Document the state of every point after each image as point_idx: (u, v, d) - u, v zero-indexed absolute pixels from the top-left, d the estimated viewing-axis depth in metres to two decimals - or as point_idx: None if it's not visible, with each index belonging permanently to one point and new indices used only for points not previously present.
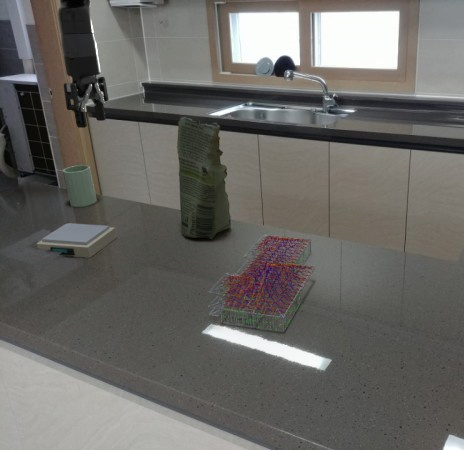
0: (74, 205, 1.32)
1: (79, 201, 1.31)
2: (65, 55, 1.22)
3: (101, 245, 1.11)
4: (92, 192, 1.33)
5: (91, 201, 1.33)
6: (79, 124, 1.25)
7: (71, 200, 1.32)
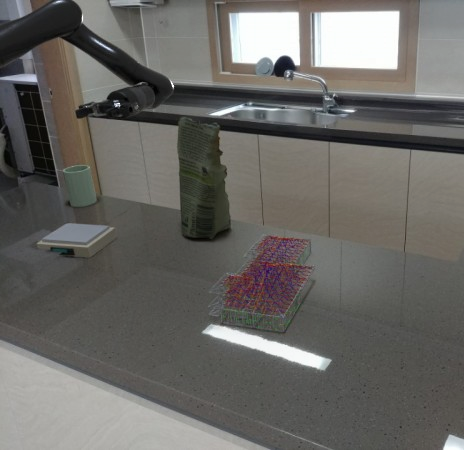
0: (74, 205, 1.32)
1: (79, 201, 1.31)
2: (136, 95, 1.45)
3: (101, 245, 1.11)
4: (92, 192, 1.33)
5: (91, 201, 1.33)
6: (112, 114, 1.31)
7: (71, 200, 1.32)
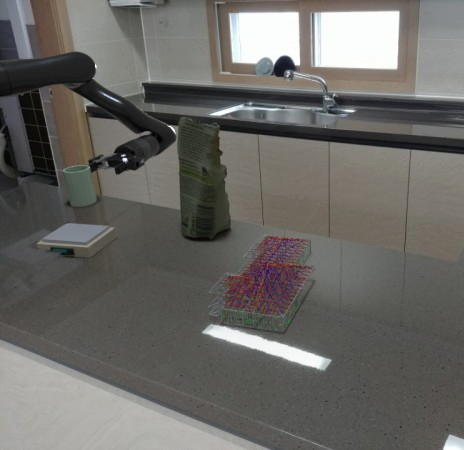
0: (74, 205, 1.32)
1: (79, 201, 1.31)
2: (142, 147, 1.54)
3: (101, 245, 1.11)
4: (92, 192, 1.33)
5: (91, 201, 1.33)
6: (121, 170, 1.41)
7: (71, 200, 1.32)
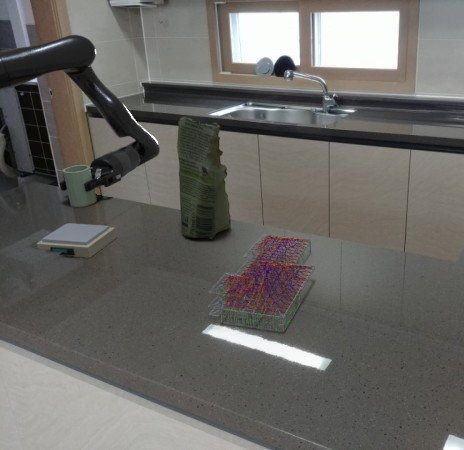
0: (74, 205, 1.32)
1: (79, 201, 1.31)
2: (121, 160, 1.44)
3: (101, 245, 1.11)
4: (92, 192, 1.33)
5: (91, 201, 1.33)
6: (91, 187, 1.30)
7: (71, 200, 1.32)
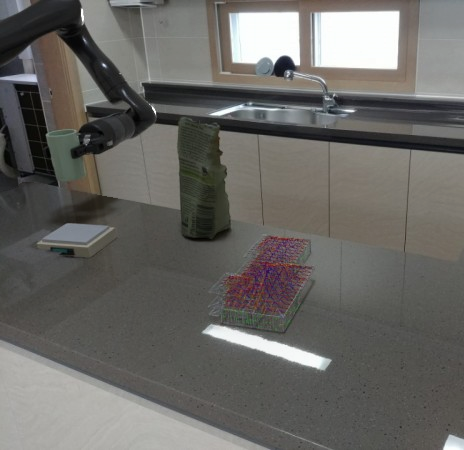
0: (59, 175, 1.15)
1: (65, 170, 1.15)
2: (113, 127, 1.27)
3: (101, 245, 1.11)
4: (80, 160, 1.16)
5: (79, 170, 1.16)
6: (78, 153, 1.14)
7: (56, 169, 1.15)
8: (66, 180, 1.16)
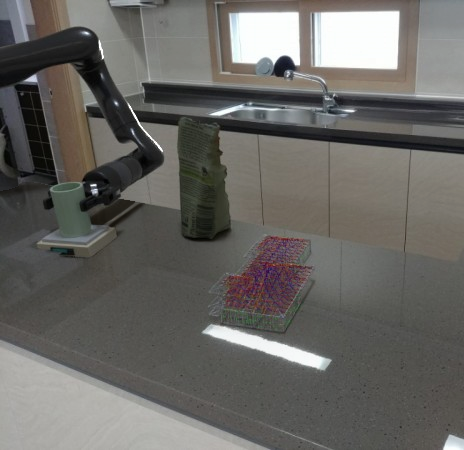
0: (64, 231, 1.09)
1: (70, 226, 1.08)
2: (119, 173, 1.21)
3: (101, 245, 1.11)
4: (85, 215, 1.10)
5: (84, 226, 1.10)
6: (88, 206, 1.07)
7: (60, 225, 1.09)
8: (71, 236, 1.09)
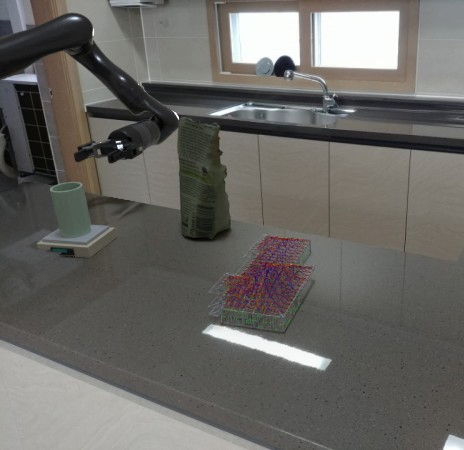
0: (64, 231, 1.09)
1: (70, 226, 1.08)
2: (140, 133, 1.33)
3: (101, 245, 1.11)
4: (85, 215, 1.10)
5: (84, 226, 1.10)
6: (115, 158, 1.20)
7: (60, 225, 1.09)
8: (71, 236, 1.09)
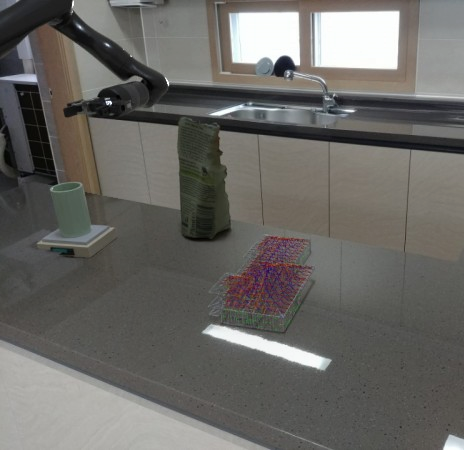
0: (64, 231, 1.09)
1: (70, 226, 1.08)
2: (129, 92, 1.35)
3: (101, 245, 1.11)
4: (85, 215, 1.10)
5: (84, 226, 1.10)
6: (103, 112, 1.22)
7: (60, 225, 1.09)
8: (71, 236, 1.09)
